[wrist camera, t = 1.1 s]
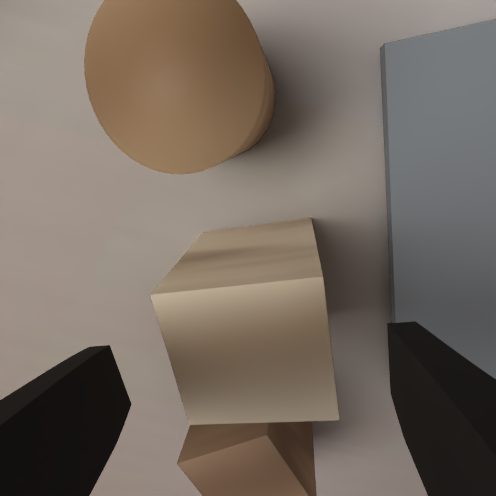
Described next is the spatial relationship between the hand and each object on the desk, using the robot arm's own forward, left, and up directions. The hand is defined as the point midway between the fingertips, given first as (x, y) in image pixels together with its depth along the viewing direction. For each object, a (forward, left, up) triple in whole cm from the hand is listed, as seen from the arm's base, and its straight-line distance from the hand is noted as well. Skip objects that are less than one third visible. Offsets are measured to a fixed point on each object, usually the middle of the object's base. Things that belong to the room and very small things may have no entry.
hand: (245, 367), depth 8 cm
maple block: (0, 0, -6) cm, 6 cm away
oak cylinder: (+7, 0, -6) cm, 9 cm away
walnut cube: (-7, +1, -6) cm, 9 cm away
